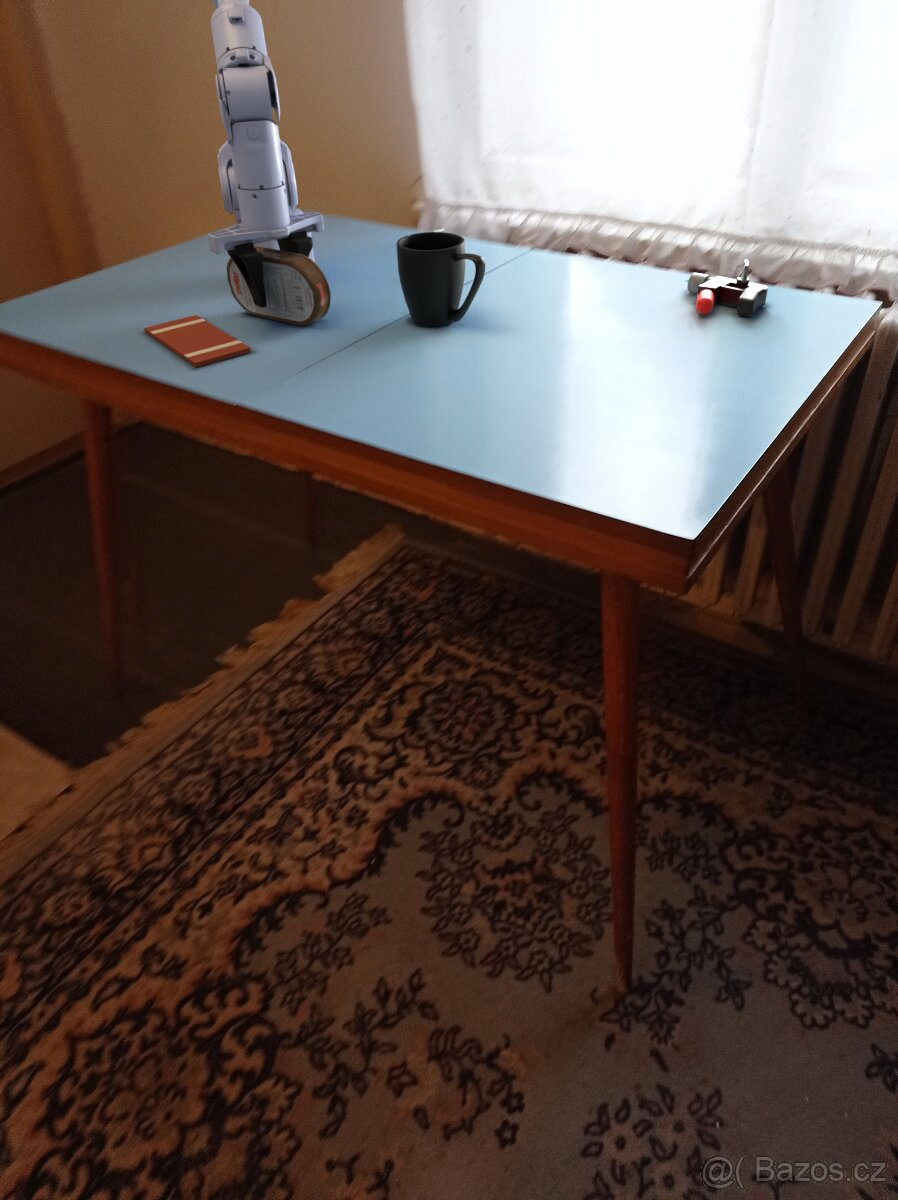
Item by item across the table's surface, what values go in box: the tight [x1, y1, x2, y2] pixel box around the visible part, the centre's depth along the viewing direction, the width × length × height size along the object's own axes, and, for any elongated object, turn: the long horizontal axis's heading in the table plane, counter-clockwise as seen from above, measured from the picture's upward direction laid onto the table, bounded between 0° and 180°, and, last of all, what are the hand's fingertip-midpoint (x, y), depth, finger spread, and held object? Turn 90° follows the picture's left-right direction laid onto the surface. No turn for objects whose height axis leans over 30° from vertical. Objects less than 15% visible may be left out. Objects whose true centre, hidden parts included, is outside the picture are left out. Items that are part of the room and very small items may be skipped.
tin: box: [226, 245, 332, 327], centre depth 113 cm, size 15×3×8 cm, turn 58°
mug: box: [396, 231, 486, 328], centre depth 110 cm, size 8×12×10 cm
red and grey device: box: [684, 258, 769, 317], centre depth 113 cm, size 10×12×5 cm
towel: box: [143, 314, 252, 368], centre depth 110 cm, size 7×15×1 cm, turn 37°
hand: (277, 300), depth 114 cm, fingers closed on tin, 4 cm apart
